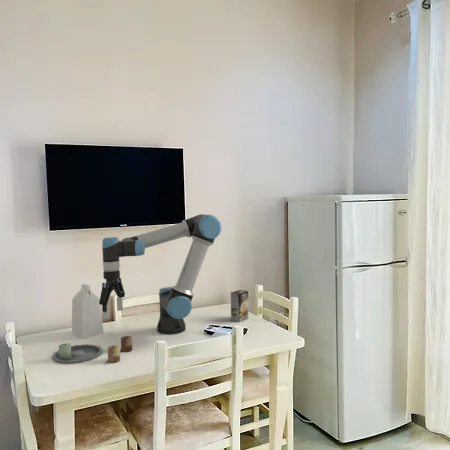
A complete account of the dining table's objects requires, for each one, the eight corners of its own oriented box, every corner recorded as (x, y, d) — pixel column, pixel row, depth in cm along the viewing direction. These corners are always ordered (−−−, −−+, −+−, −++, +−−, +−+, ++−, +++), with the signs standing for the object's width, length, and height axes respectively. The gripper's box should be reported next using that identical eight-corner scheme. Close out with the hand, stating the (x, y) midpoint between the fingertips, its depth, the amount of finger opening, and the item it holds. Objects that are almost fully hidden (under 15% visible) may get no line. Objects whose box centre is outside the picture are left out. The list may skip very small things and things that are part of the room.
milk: (103, 333, 224) (101, 284, 222) (82, 339, 216) (80, 288, 214) (92, 328, 232) (90, 281, 231) (72, 334, 224) (69, 285, 223)
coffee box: (240, 322, 239) (239, 293, 238) (230, 320, 242) (230, 292, 241) (249, 318, 246) (248, 290, 245) (239, 316, 250) (239, 289, 249)
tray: (110, 348, 200) (110, 345, 200) (87, 366, 180) (87, 362, 180) (69, 346, 205) (69, 343, 204) (42, 363, 184) (42, 360, 184)
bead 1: (73, 356, 190) (73, 343, 189) (67, 361, 185) (66, 347, 184) (63, 356, 191) (62, 342, 190) (56, 360, 186) (56, 346, 185)
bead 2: (121, 359, 187) (121, 345, 187) (116, 363, 183) (116, 349, 182) (111, 358, 188) (110, 345, 188) (106, 362, 184) (105, 349, 183)
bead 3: (134, 348, 200) (133, 336, 200) (129, 352, 195) (129, 339, 195) (124, 348, 201) (123, 335, 201) (119, 351, 196) (118, 339, 196)
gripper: (117, 265, 214) (118, 307, 216) (89, 274, 190) (91, 321, 191) (130, 266, 212) (132, 308, 214) (105, 275, 188) (107, 322, 190)
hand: (113, 314), depth 203 cm, fingers open, 13 cm apart
